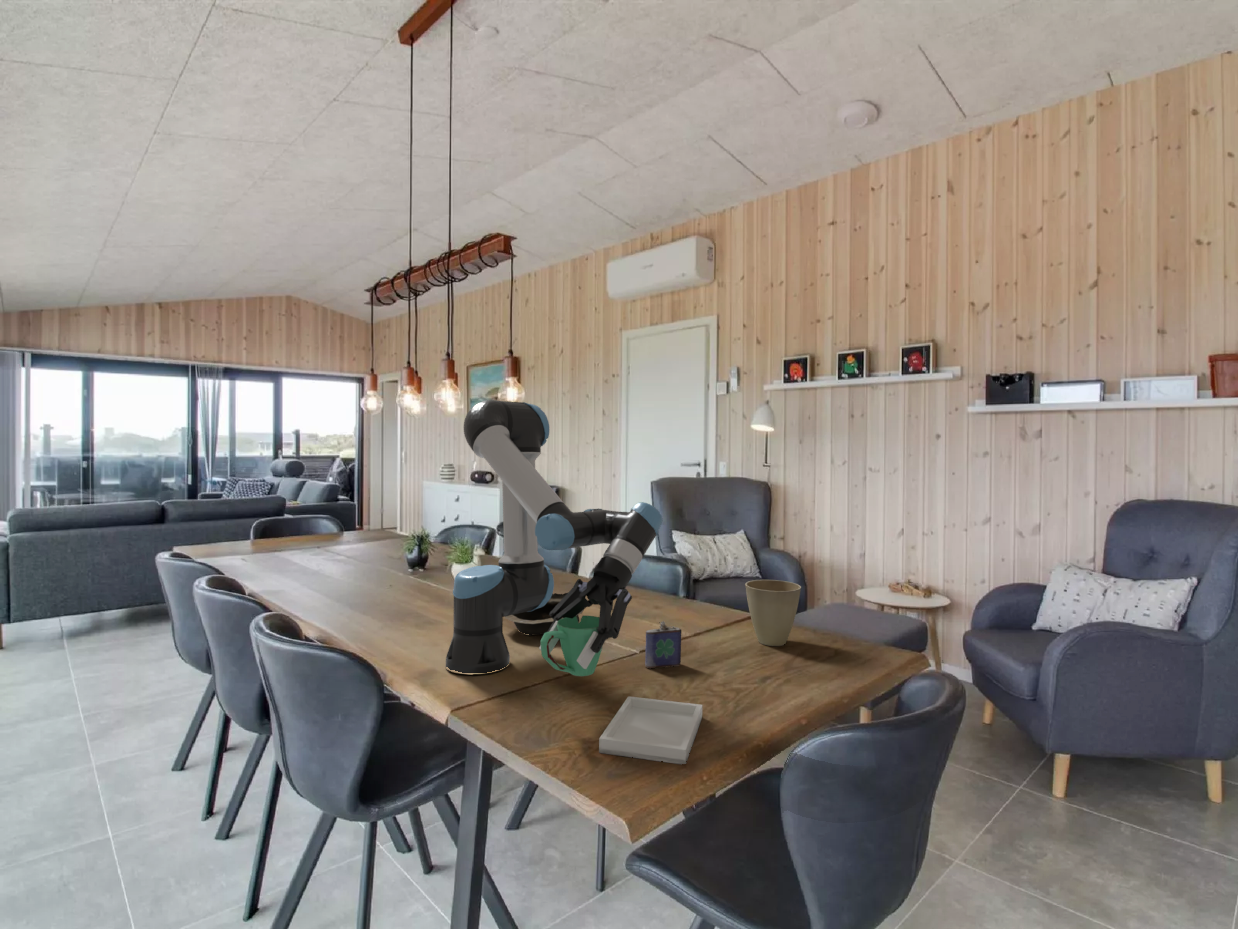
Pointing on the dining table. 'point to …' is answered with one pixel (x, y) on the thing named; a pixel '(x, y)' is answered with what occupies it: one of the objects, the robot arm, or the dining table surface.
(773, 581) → the plant pot
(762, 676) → the dining table surface
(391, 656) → the dining table surface
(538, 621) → the stone bowl
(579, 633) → the mug
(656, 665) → the flask
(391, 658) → the dining table surface
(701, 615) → the dining table surface
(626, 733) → the cradle tray
